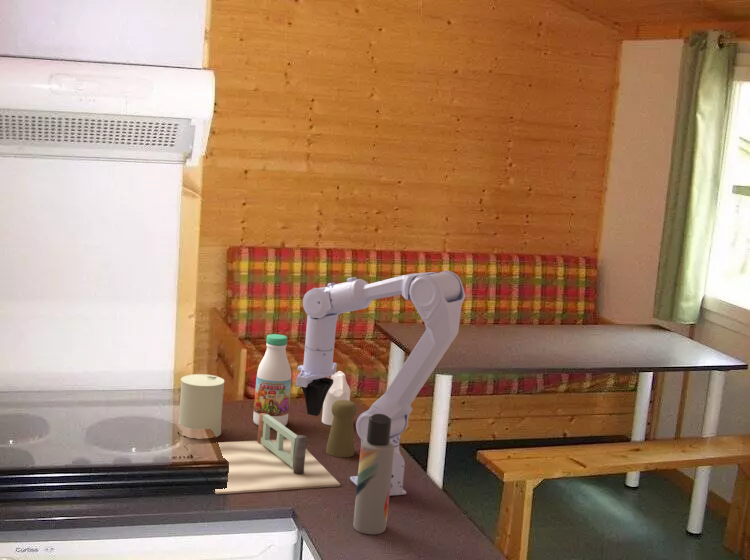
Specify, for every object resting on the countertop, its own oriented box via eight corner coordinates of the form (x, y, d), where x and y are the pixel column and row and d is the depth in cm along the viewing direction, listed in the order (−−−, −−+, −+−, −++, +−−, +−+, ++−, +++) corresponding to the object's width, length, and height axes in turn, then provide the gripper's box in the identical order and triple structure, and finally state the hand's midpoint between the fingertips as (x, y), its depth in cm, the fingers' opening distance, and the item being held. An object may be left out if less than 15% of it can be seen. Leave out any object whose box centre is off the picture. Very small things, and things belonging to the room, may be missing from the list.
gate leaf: (298, 467, 195) (300, 437, 194) (292, 467, 195) (295, 438, 194) (266, 442, 208) (268, 414, 207) (260, 442, 207) (262, 414, 206)
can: (229, 432, 215) (233, 377, 213) (203, 442, 207) (207, 386, 205) (195, 422, 219) (198, 369, 217) (168, 432, 211) (171, 377, 209)
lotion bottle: (385, 522, 175) (396, 412, 172) (386, 536, 169) (398, 422, 166) (352, 520, 175) (363, 410, 172) (353, 533, 169) (364, 420, 166)
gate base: (340, 486, 190) (343, 447, 189) (216, 494, 180) (219, 454, 179) (296, 440, 213) (299, 406, 212) (184, 445, 204) (186, 409, 202)
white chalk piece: (326, 373, 224) (325, 367, 229) (321, 425, 226) (321, 417, 231) (352, 375, 224) (351, 369, 230) (348, 427, 226) (347, 419, 232)
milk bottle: (249, 417, 226) (256, 331, 223) (283, 417, 228) (290, 332, 225) (256, 429, 219) (263, 339, 215) (290, 428, 221) (298, 340, 218)
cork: (356, 449, 212) (361, 399, 210) (352, 458, 206) (357, 407, 204) (327, 445, 212) (332, 395, 210) (323, 455, 206) (328, 403, 205)
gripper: (316, 337, 204) (311, 402, 206) (284, 350, 191) (278, 419, 193) (348, 343, 202) (342, 408, 204) (317, 357, 188) (311, 426, 191)
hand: (313, 414), depth 198 cm, fingers closed
